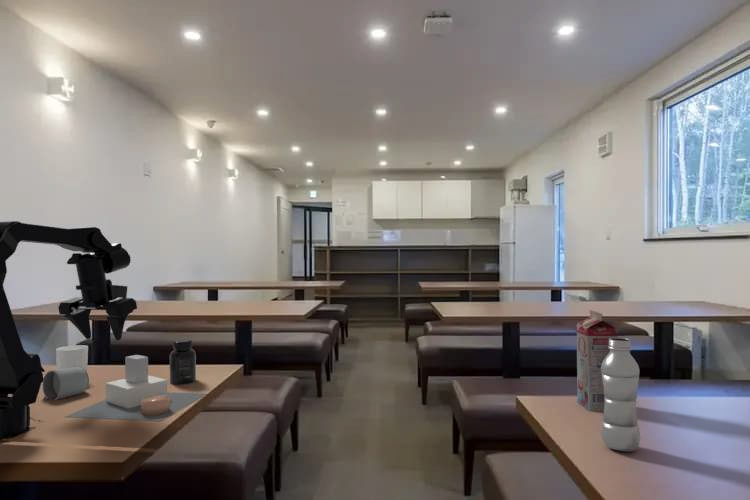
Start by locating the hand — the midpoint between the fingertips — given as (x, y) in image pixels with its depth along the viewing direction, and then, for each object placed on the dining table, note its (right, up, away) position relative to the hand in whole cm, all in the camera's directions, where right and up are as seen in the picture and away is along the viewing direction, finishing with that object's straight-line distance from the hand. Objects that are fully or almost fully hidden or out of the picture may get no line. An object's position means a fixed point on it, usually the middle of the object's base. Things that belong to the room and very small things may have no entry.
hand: (103, 339), depth 125 cm
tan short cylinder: (+18, -15, -11) cm, 25 cm away
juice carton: (+119, -14, -8) cm, 120 cm away
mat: (+12, -15, -5) cm, 20 cm away
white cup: (-19, -16, +18) cm, 30 cm away
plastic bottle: (+112, -14, -33) cm, 118 cm away
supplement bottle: (+13, -15, +16) cm, 26 cm away
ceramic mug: (-13, -16, +4) cm, 21 cm away
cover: (+9, -15, -1) cm, 17 cm away
